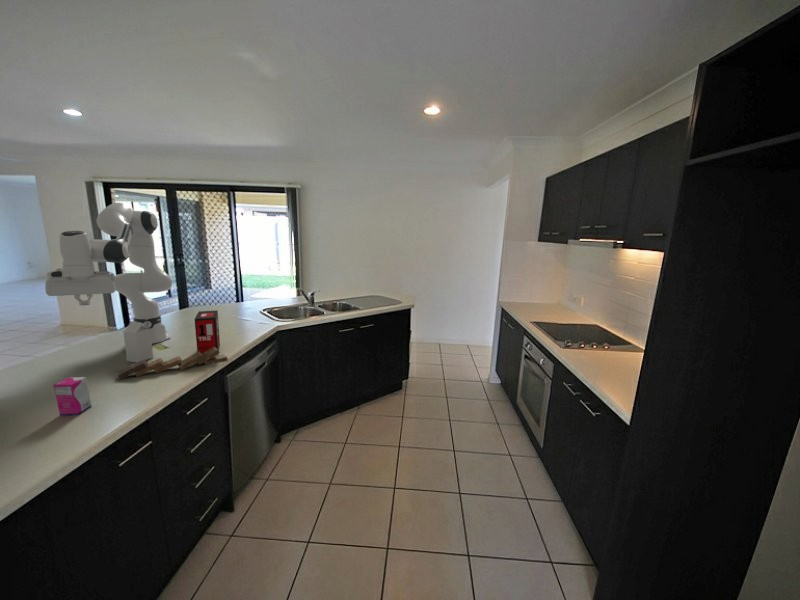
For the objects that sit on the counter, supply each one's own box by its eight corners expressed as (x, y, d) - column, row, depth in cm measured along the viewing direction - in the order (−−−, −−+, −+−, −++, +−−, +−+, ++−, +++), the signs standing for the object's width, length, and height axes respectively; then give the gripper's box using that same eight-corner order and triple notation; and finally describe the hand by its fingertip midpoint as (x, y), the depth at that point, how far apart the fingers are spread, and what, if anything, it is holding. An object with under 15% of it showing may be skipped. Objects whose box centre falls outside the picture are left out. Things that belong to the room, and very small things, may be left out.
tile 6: (204, 361, 151) (227, 356, 158) (201, 358, 154) (223, 353, 161) (205, 366, 151) (227, 360, 158) (202, 362, 154) (224, 357, 162)
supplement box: (74, 406, 112) (69, 376, 110) (92, 406, 113) (87, 376, 110) (58, 415, 106) (52, 384, 104) (77, 415, 107) (71, 384, 105)
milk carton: (139, 363, 150) (134, 324, 146) (127, 361, 151) (121, 323, 147) (153, 357, 156) (149, 321, 153) (141, 356, 158) (137, 319, 154)
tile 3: (153, 369, 139) (179, 359, 144) (154, 365, 143) (179, 355, 148) (156, 373, 140) (181, 363, 144) (156, 369, 144) (181, 359, 149)
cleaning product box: (201, 346, 174) (198, 311, 170) (219, 344, 178) (217, 310, 174) (197, 356, 160) (194, 319, 156) (217, 354, 164) (215, 317, 160)
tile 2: (134, 372, 135) (160, 361, 140) (135, 368, 139) (161, 357, 144) (136, 377, 136) (163, 365, 141) (138, 372, 140) (163, 361, 145)
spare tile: (116, 375, 132) (143, 362, 136) (118, 371, 136) (144, 359, 140) (120, 379, 133) (146, 366, 137) (121, 375, 137) (147, 362, 141)
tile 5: (196, 361, 148) (217, 349, 154) (193, 358, 151) (214, 346, 157) (199, 365, 149) (219, 352, 155) (195, 362, 152) (216, 350, 158)
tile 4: (179, 367, 143) (201, 354, 148) (176, 363, 146) (199, 351, 152) (181, 370, 144) (204, 357, 149) (179, 366, 147) (201, 354, 153)
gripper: (115, 270, 135) (119, 301, 138) (46, 271, 124) (52, 305, 127) (112, 272, 130) (117, 304, 133) (40, 273, 119) (47, 308, 122)
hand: (85, 305), depth 130 cm, fingers closed
